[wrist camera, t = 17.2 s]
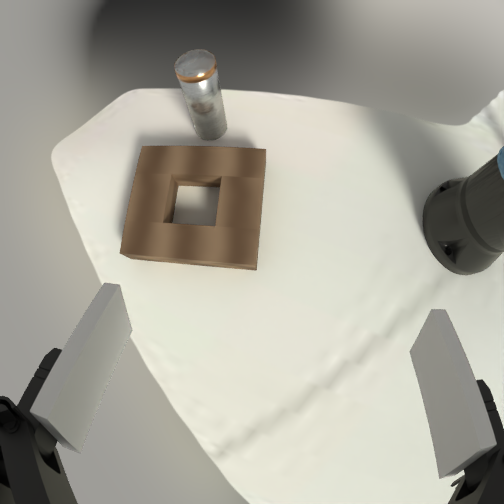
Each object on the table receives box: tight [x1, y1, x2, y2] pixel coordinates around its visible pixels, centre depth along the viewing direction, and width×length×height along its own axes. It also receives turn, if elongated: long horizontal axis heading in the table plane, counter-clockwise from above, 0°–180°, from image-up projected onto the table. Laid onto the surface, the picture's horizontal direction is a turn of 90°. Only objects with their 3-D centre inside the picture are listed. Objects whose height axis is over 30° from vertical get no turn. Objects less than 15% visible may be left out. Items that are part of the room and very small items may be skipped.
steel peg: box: [174, 50, 227, 140], centre depth 41 cm, size 5×5×15 cm
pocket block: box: [120, 146, 266, 270], centre depth 43 cm, size 18×16×4 cm
